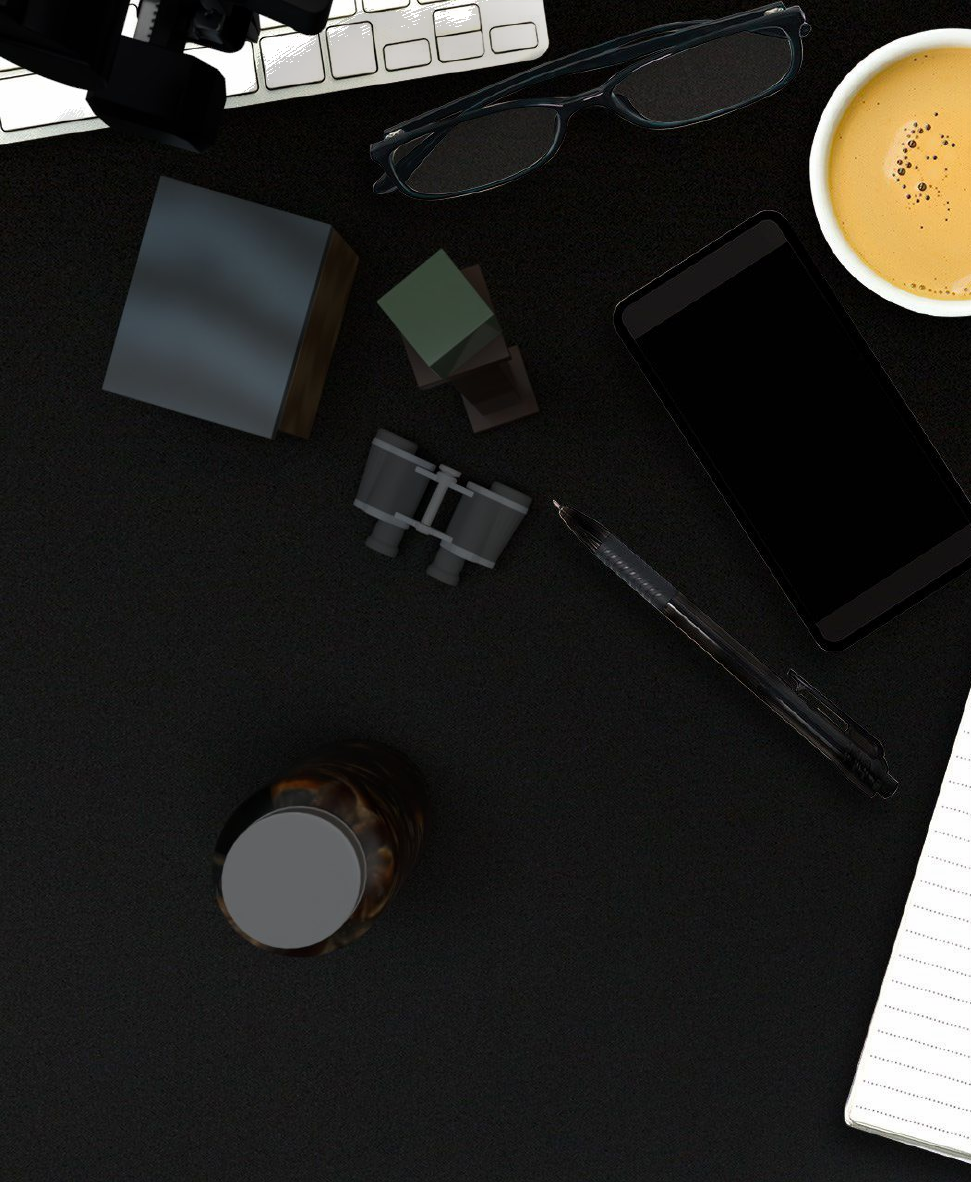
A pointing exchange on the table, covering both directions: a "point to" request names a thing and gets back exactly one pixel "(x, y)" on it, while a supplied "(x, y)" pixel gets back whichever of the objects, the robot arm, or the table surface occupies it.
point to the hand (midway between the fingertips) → (251, 35)
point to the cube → (441, 315)
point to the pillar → (485, 375)
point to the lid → (218, 307)
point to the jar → (322, 848)
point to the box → (319, 339)
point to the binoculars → (435, 508)
